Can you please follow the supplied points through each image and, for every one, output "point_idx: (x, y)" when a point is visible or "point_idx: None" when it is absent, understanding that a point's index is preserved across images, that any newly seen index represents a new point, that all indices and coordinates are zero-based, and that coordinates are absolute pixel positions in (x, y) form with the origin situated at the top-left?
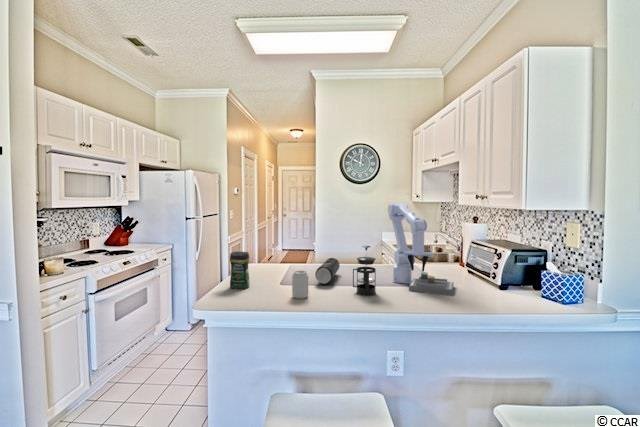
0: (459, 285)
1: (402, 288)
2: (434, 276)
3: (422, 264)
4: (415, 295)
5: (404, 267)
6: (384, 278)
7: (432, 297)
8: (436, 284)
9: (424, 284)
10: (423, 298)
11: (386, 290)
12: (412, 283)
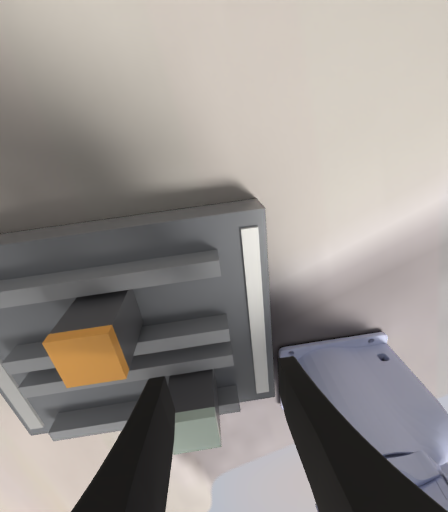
0: (37, 440)
1: (310, 236)
2: (59, 374)
3: (133, 478)
4: (173, 85)
5: (378, 451)
6: (433, 376)
7: (26, 98)
8: (37, 285)
9: (145, 266)
10: (74, 11)
11: (421, 117)
12: (252, 279)
